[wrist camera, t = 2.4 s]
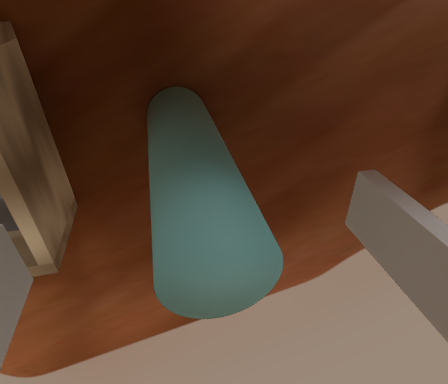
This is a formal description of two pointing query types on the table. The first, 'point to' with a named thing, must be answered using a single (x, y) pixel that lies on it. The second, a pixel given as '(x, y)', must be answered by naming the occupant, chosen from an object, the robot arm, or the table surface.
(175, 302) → the peg
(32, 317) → the table surface
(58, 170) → the crate
